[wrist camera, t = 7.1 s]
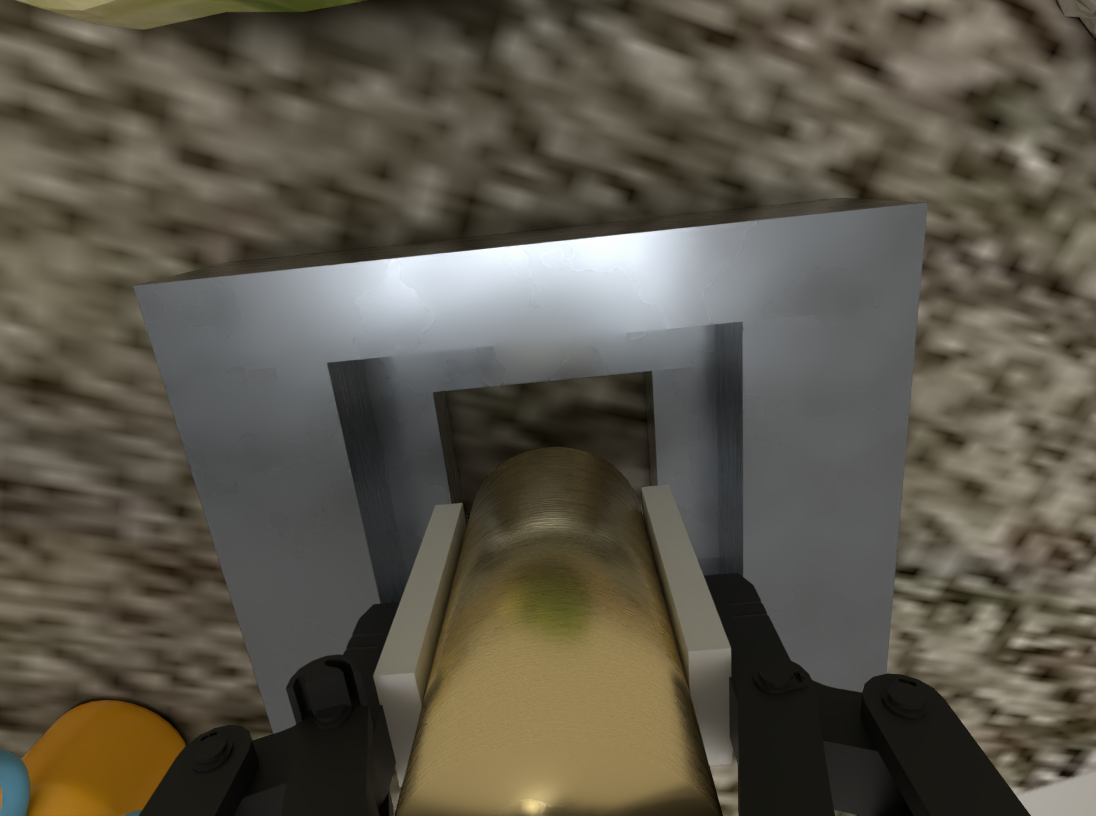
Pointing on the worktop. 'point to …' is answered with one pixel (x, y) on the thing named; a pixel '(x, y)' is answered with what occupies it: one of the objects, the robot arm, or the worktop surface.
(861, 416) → the jig
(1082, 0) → the mineral rock
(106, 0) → the lettuce
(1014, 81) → the worktop surface
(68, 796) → the cylinder
